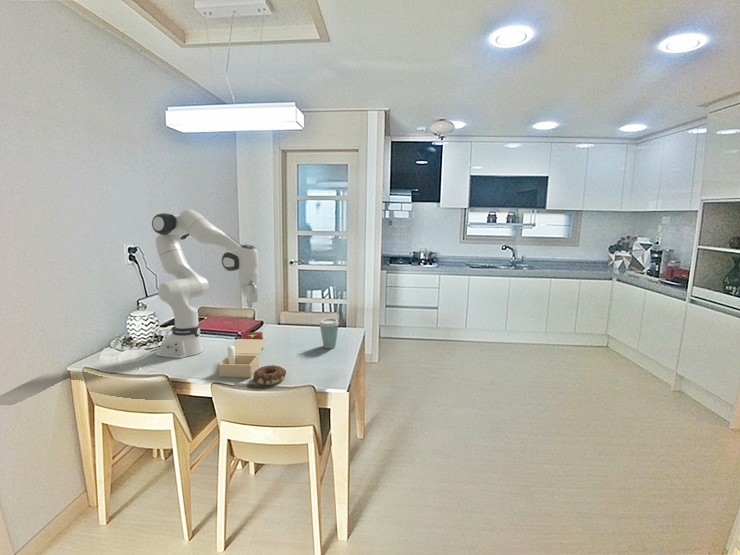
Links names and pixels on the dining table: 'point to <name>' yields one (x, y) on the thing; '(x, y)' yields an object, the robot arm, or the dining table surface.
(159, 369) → the dining table surface
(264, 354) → the dining table surface
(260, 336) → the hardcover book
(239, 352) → the lid
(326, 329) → the disposable coffee cup
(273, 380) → the donut
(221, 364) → the box
